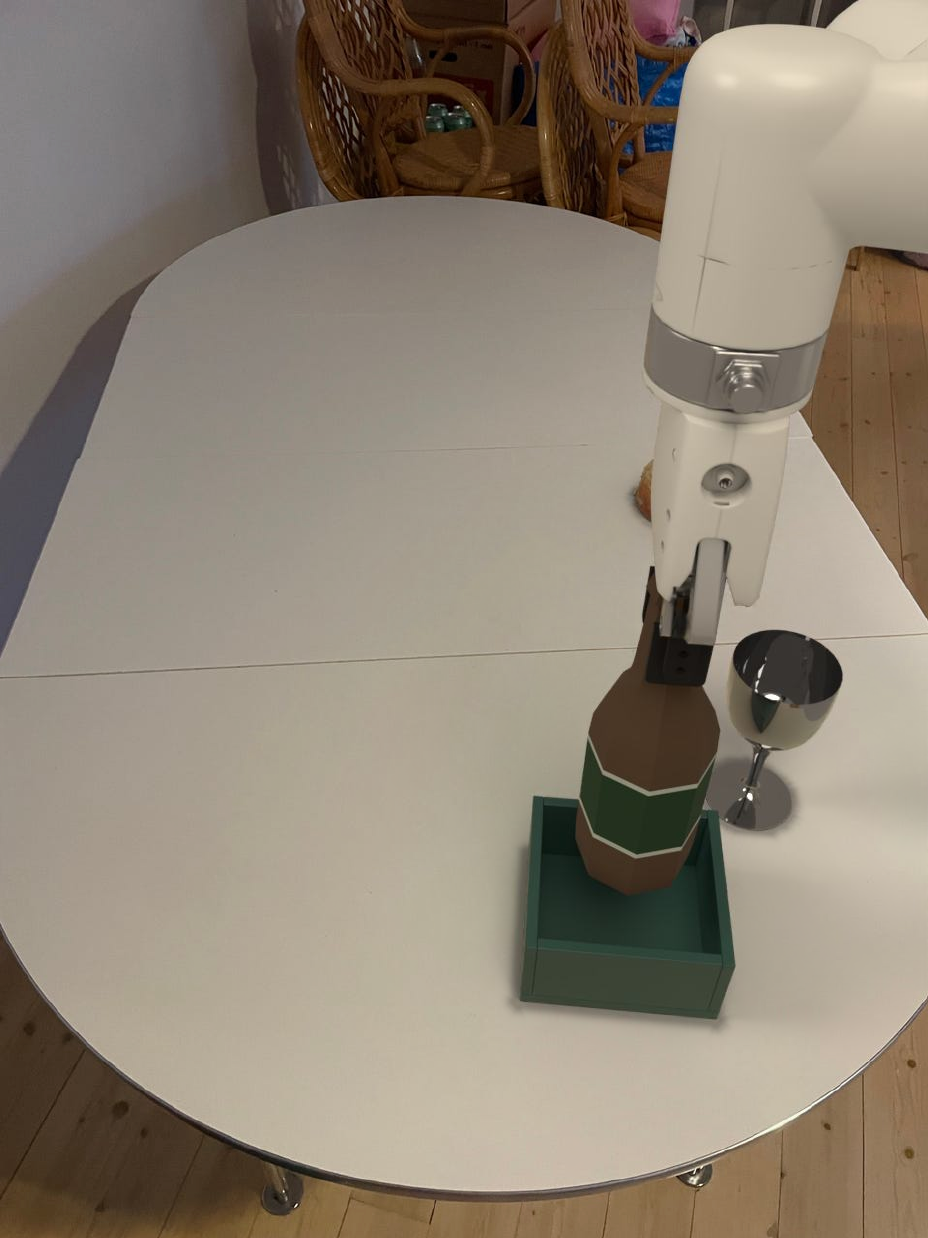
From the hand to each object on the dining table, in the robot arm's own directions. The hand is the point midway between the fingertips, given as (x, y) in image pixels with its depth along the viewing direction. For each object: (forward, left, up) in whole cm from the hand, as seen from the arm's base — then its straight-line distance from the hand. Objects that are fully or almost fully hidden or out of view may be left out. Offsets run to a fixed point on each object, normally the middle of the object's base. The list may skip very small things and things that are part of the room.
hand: (672, 649), depth 58 cm
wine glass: (-11, -14, -29) cm, 34 cm away
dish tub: (0, 0, -28) cm, 28 cm away
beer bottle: (0, 0, -19) cm, 19 cm away
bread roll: (-8, -55, -29) cm, 63 cm away
